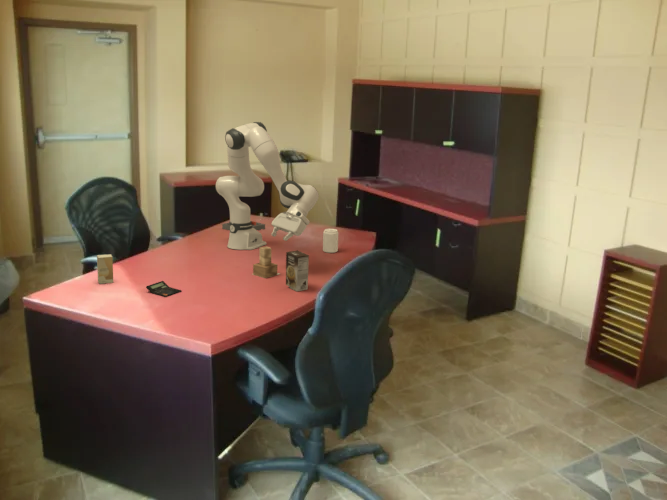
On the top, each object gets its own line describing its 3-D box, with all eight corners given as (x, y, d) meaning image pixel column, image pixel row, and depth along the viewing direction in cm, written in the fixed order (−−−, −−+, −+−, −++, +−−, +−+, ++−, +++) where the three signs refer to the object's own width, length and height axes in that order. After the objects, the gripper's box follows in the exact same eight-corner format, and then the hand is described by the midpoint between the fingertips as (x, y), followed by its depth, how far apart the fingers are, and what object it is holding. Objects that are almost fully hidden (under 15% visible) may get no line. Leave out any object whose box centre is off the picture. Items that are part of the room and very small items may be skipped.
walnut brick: (265, 271, 303) (265, 261, 302) (277, 274, 298) (277, 264, 297) (253, 274, 297) (253, 264, 296) (265, 278, 292) (265, 268, 291)
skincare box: (99, 284, 280) (97, 257, 277) (97, 281, 283) (95, 255, 280) (114, 282, 283) (112, 256, 279) (112, 279, 286) (111, 253, 283)
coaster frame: (244, 224, 401) (244, 219, 401) (265, 228, 390) (265, 224, 390) (222, 228, 388) (222, 223, 387) (242, 233, 377) (242, 228, 376)
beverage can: (320, 252, 342) (321, 230, 339) (326, 248, 349) (326, 227, 346) (334, 254, 339) (335, 232, 336) (339, 250, 346) (340, 229, 343)
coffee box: (285, 286, 285) (285, 251, 280) (296, 283, 289) (297, 249, 284) (296, 291, 278) (297, 256, 274) (308, 289, 282) (309, 254, 277)
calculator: (165, 298, 266) (165, 291, 265) (146, 292, 272) (145, 285, 271) (181, 292, 274) (181, 285, 273) (162, 287, 280) (162, 280, 279)
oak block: (266, 262, 299) (266, 246, 297) (271, 264, 296) (271, 248, 294) (259, 264, 297) (259, 247, 295) (264, 266, 294) (264, 249, 292)
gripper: (279, 207, 307) (262, 229, 304) (304, 215, 292) (287, 238, 289) (286, 215, 311) (269, 237, 308) (312, 223, 297) (295, 246, 293)
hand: (278, 237), depth 298 cm, fingers open, 8 cm apart
